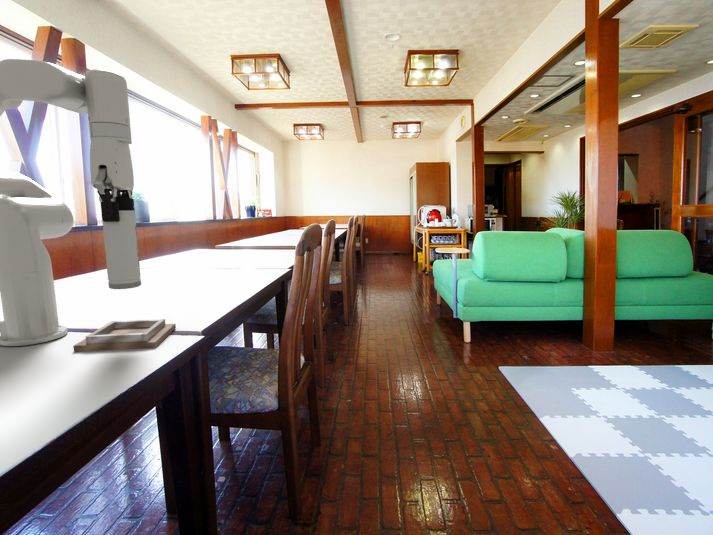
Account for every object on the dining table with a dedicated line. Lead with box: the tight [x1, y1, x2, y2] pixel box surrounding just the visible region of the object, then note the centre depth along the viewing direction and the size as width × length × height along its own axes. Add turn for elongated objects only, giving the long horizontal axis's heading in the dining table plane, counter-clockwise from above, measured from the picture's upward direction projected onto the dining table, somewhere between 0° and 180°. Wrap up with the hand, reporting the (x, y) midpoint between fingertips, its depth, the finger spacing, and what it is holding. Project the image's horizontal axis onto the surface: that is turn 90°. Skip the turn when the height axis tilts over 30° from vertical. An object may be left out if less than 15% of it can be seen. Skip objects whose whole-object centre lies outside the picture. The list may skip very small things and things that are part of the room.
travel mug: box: [101, 196, 142, 290], centre depth 89 cm, size 6×7×20 cm
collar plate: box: [73, 318, 176, 352], centre depth 92 cm, size 16×14×3 cm
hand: (118, 220), depth 89 cm, fingers closed on travel mug, 6 cm apart
